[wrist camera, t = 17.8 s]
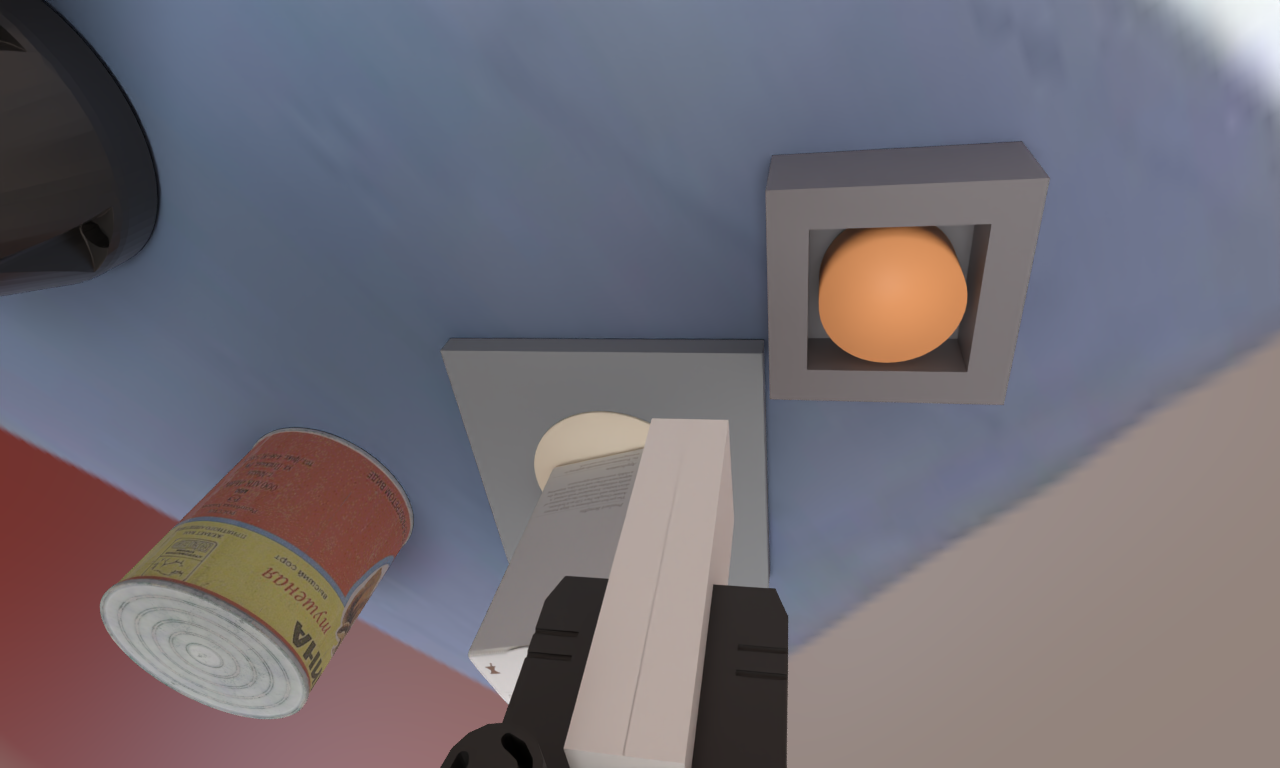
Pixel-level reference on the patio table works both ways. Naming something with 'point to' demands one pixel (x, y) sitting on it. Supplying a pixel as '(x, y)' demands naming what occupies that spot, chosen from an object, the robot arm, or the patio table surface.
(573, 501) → the skincare box
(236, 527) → the canned food
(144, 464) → the patio table surface
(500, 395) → the slate board
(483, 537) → the patio table surface
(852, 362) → the button box
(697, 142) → the patio table surface
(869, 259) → the button
